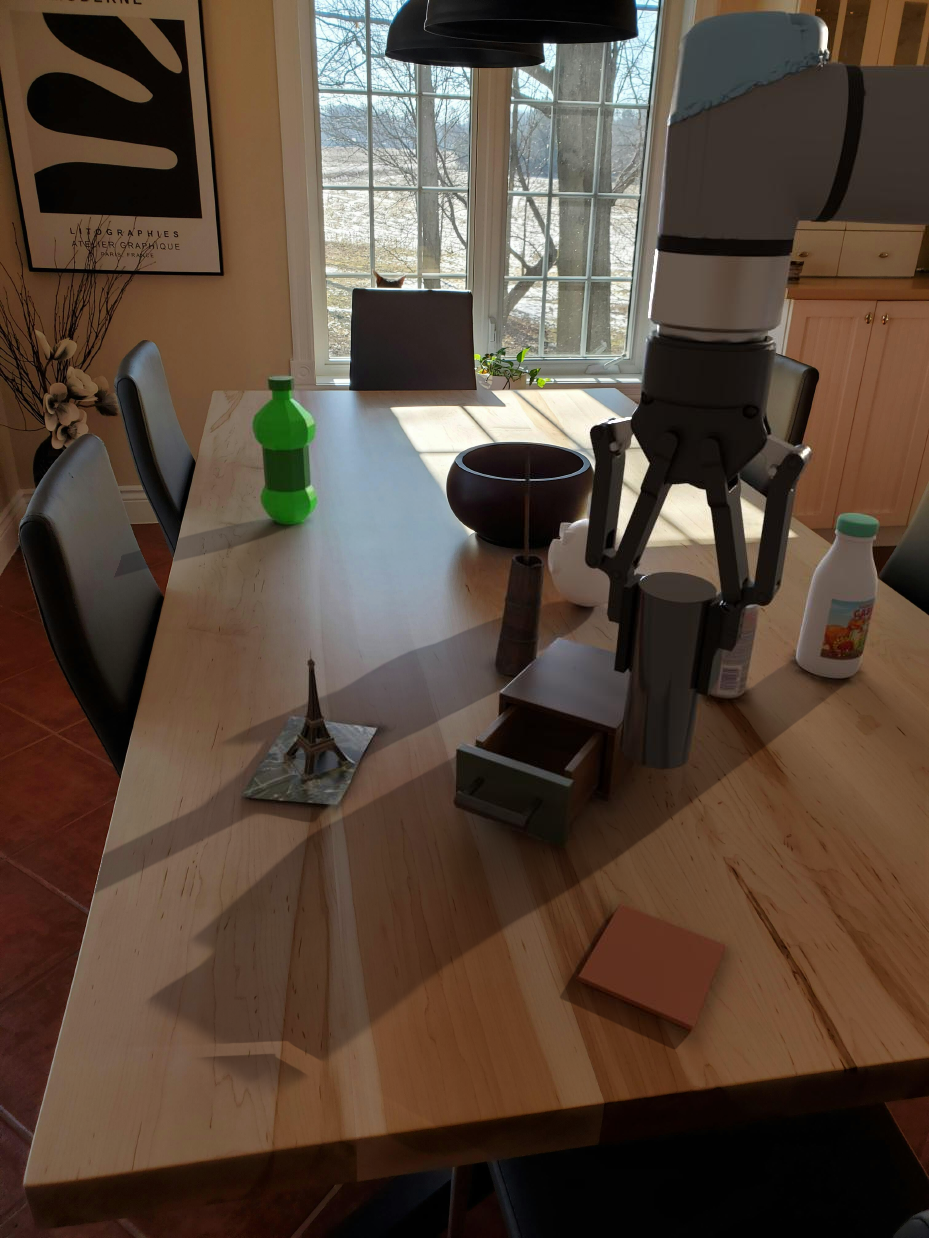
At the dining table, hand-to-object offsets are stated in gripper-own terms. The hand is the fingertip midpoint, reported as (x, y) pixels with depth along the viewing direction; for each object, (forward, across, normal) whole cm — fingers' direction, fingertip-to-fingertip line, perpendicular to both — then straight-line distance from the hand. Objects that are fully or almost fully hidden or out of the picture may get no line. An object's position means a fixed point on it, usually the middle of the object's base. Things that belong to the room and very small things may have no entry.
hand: (665, 674), depth 63 cm
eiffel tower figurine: (+24, +37, -6) cm, 45 cm away
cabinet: (+24, +14, -23) cm, 36 cm away
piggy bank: (+24, +29, -58) cm, 69 cm away
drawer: (+23, +14, -10) cm, 29 cm away
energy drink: (+24, +5, -44) cm, 50 cm away
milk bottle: (+24, -5, -57) cm, 62 cm away
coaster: (+24, -3, +2) cm, 25 cm away
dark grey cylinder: (+6, 0, 0) cm, 6 cm away
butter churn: (+24, +28, -34) cm, 51 cm away
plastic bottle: (+24, +88, -62) cm, 110 cm away
